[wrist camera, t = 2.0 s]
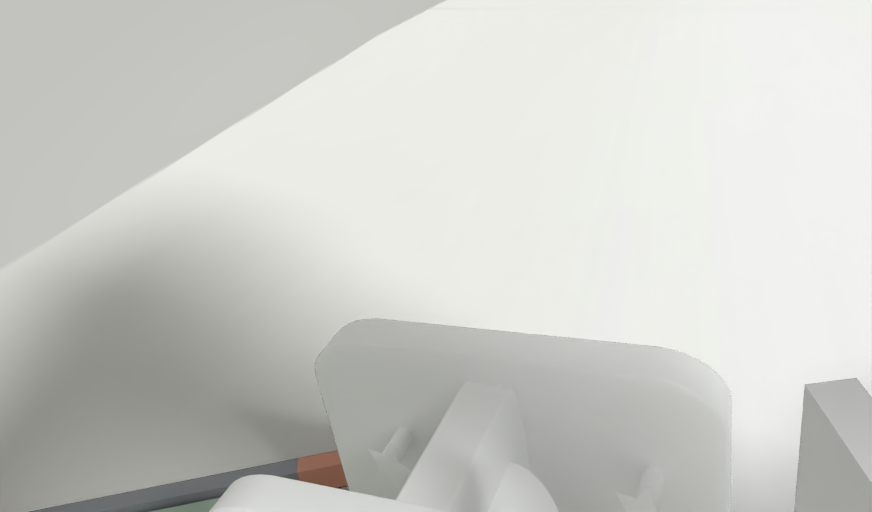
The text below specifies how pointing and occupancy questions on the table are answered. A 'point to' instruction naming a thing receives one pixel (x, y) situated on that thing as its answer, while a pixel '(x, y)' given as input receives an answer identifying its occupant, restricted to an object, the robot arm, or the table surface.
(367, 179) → the table surface
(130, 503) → the divided tray
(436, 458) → the cable organizer
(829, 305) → the table surface
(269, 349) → the table surface
